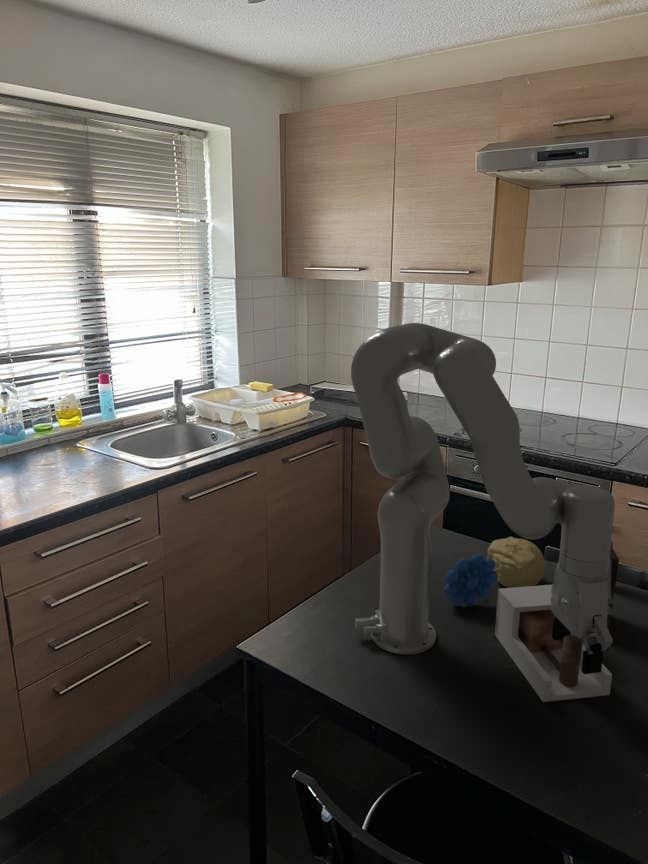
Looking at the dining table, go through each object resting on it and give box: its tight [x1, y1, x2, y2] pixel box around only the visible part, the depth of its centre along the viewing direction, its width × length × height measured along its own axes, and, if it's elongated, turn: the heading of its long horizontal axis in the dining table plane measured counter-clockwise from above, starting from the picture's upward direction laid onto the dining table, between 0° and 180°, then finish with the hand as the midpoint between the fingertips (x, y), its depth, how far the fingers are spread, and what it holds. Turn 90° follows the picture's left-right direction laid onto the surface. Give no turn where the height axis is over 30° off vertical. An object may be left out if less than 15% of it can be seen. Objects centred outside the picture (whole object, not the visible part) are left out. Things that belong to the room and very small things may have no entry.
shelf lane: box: [494, 584, 613, 703], centre depth 116 cm, size 12×20×10 cm, turn 9°
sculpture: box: [486, 536, 546, 588], centre depth 145 cm, size 11×12×11 cm
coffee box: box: [589, 546, 620, 633], centre depth 129 cm, size 9×6×16 cm
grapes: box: [443, 553, 498, 607], centre depth 136 cm, size 12×7×12 cm, turn 98°
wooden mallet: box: [518, 610, 584, 687], centre depth 116 cm, size 6×16×8 cm, turn 9°
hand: (575, 654), depth 109 cm, fingers open, 9 cm apart
